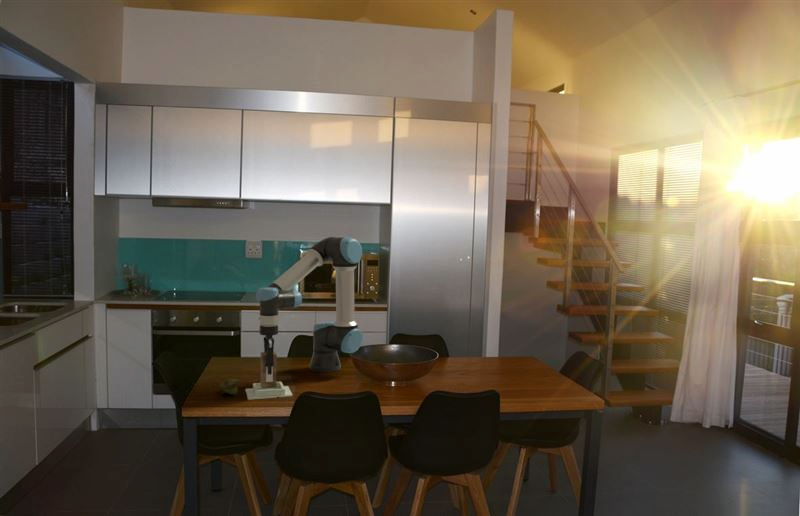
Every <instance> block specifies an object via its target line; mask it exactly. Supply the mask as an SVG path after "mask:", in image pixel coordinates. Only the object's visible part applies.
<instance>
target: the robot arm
mask: <svg viewBox="0 0 800 516" xmlns="http://www.w3.org/2000/svg"><path fill="white" fill-rule="evenodd" d="M362 257H363V248H362V245H361V243H360V242H359V241H358V240H357V239H356V238H351V237H342V236H341V237H338V236H337V237H336V236H335V237H334V236H329V237H326V238H324V239H321V240H320V241H318V242H316V243H315V244H314V245H312V246H311V247H309V249H307V252H306V254H305V255H304V256H303V257H302V258H300V259H299V260H298V261H297V262H296V263H294V264H293V265H292V266H291V267H290V268H288V269H287V270H286V271H284V273H282V274H281V275H280V276H279V277H278V278H276V280H274V281H273V282H272V283H271V284H269V285H268V286H266V287H260V288H258V290H257V291H256V294H255V299H256V301H257V302H258V304H259V317H258V318H257V320H259V324H260V325H259V335H261V336H264V337H263V349H264V350H263V352H266V355H267V356H266V359H267V365H265V367H266V382H273V366H274V364H273V352H274V348H275V347H274V346H275V345H274V344H275V339H274V337H273V336H276V335H278V333H279V310H285V309H286V310H287V309H295V308H299V307H300V306H301V304H302V302H303V298H302V294H301V292H300V291H298V290H295V289H294V290H293V288H294V287H295V286H296V285H298V283H299V282H301V281H302V280H303V279H304V278H306V276H308V275H309V274H310V273H311V272H313V271H314V270H315V269H316V268H317V267H322V266H323V265H324V264H326V263H328V262H332V265H331V266H332V268H333V269H334V270H335V309H336V310H335V312H336V313H335V314H336V315H335V316H336V317H335V319H336V320H332V321H321V322H316V323H315V324H314V325H313V330H312V333H313V334H312V335H313V337H312V339H313V340H312V341H313V343H312V345H313V346H312V348H313V349H312V350H313V351H312V352H313V353H312V357H311V359H310V363H309V370H310V371H312V372H316V373H317V372H318V373H330V372H337V371H340V370H341V367H342V365H341V364H342V363H341V361H340V358H339V354H338V352H343V353H345V354H353V353H356V352H357V351H359V349H360V347H361V346H362V343H363V340H364V335H363V332H362V331H361V330H360V329H359V327H358V326H359V325H358V322H357V321H356V320H355V269H357V267H358V263H359V262H360V261H361V259H362ZM291 289H292V290H291Z"/></svg>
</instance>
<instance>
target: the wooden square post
mask: <svg viewBox="0 0 800 516" xmlns="http://www.w3.org/2000/svg"><path fill="white" fill-rule="evenodd" d="M266 356H267V355H266V352H264V351H262V352H260V383H261V388H275V387H276V382H277V366H278V365H277V364H278V363H277V352H276V351H273V364H274V366H273V382H266V367H265V365H267V359H266Z"/></svg>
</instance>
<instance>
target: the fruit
mask: <svg viewBox="0 0 800 516" xmlns="http://www.w3.org/2000/svg"><path fill="white" fill-rule="evenodd" d="M240 381H241V380H240V379H238V378H232V377H227V378H226V379H225V381H224V382H222V383H220V385H219V389H220V393H221V394H222V395H224V394H230V395H237V394H238V391H239V390H238V386H237V385H239V382H240Z"/></svg>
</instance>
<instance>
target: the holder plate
mask: <svg viewBox="0 0 800 516" xmlns="http://www.w3.org/2000/svg"><path fill="white" fill-rule="evenodd" d="M245 393H246V397H247V401H248V400H249V401H251V400H262V399H263V400H264V399H276V398H277V397H279V398H287V397H289V398H292V397H294V396H293V393H292V391H291V390H290V387H289V385H284V384H283V382H282V381H276V387H275V388H261V382H258V383H257V382H255V383H252V388H245ZM277 399H278V398H277Z"/></svg>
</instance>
